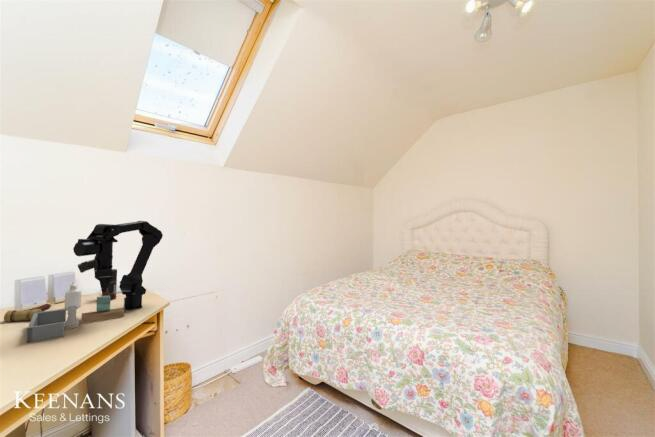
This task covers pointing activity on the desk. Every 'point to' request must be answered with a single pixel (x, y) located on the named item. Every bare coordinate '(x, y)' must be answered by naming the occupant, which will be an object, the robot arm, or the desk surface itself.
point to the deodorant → (112, 287)
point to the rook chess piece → (71, 318)
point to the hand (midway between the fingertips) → (103, 289)
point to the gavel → (24, 314)
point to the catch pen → (46, 325)
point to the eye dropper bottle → (73, 296)
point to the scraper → (102, 311)
